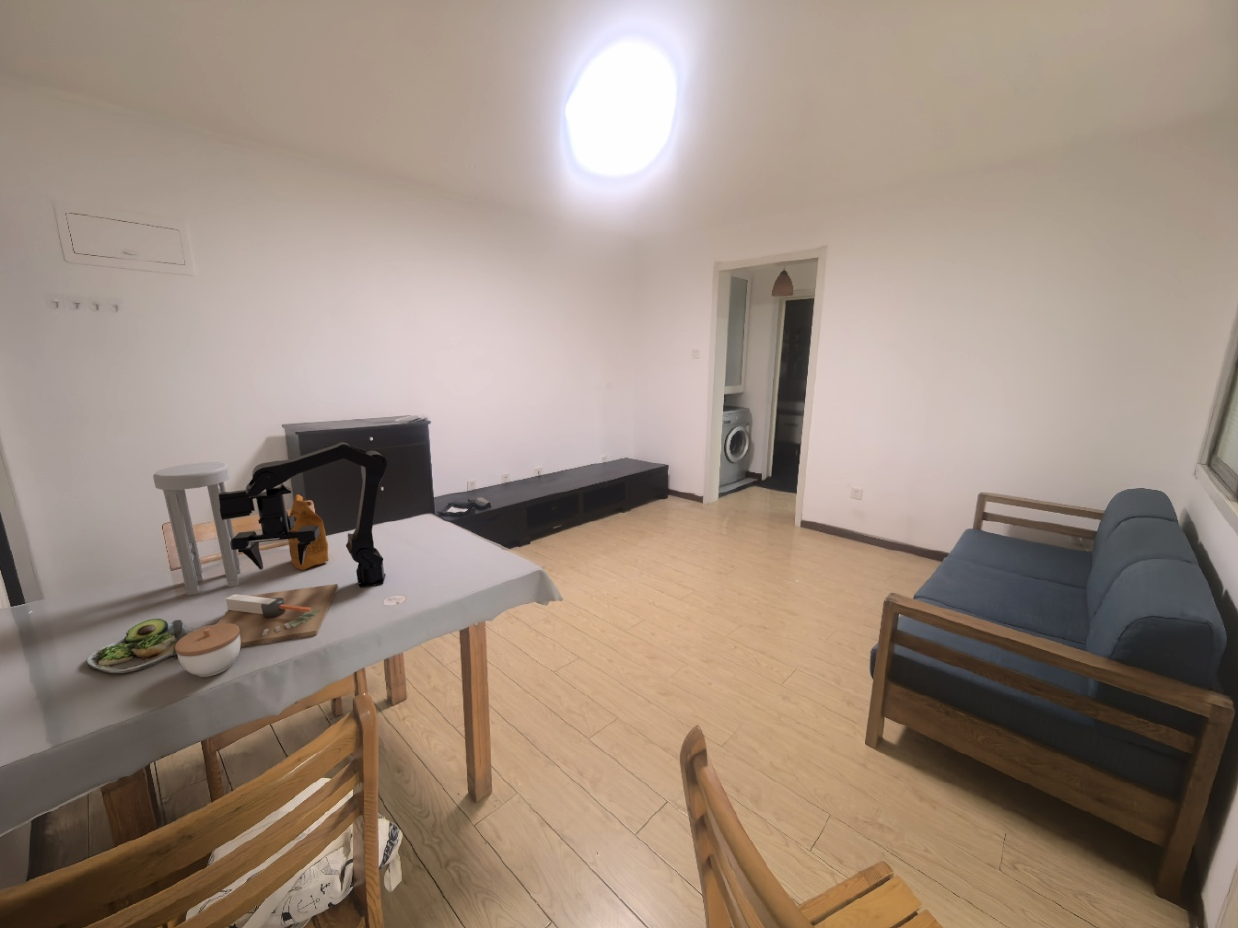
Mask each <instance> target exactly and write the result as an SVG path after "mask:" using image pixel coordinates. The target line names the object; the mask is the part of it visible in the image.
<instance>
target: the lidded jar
mask: <svg viewBox="0 0 1238 928" xmlns="http://www.w3.org/2000/svg"><path fill="white" fill-rule="evenodd" d="M241 648H242V647H241V638H240V629H239V627H238V626H237V625H235V624H231V623H222V624H217V623H216V624H211V625H207V626H204V627H201V628H199V629H195V630H193V632H191V633H189V634H187V635H186V636H184V637H183V638H181V639H180V640H179V641H178V642H177V643H176V645H175V651H176V653H177V655H176V656H177V659H178V661H179V663H180V665H181V666H182V668H183V669H184V670H185V671H186V672H188V673H189V674H191V675H195V676H197V677H199V678H208V677H212V676H216V675H219V674H221V673H223V672H225V671H227V670H228V669H229V668H230V667H231V666H232V665H233V663H234V662H235V661H236V659H237V658H238V656H239V654H240V651H241Z"/></svg>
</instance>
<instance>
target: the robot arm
mask: <svg viewBox="0 0 1238 928" xmlns="http://www.w3.org/2000/svg"><path fill="white" fill-rule="evenodd" d="M340 460H346V461H349V462H352V463H354V464H357V465H359V466H360V470H361V471H360V472H361V478H362V486H361V493H360V499H359V507H358V513H357V518H356V519H357V520H356V526H355V529H354V532H353V533H349V532H348V533H347V542H346V544H345V548H346V549H347V551H348V554H349V555H350V556H351V558H352V560H353V561H354V562H355V563H357V568H356V571H355V572H356V579H357V583H358V587H359V588H364V587H372V586H373V587H374V586H379V585H383V584H384V582H385V578H386V575H387V574H386V573H385V570H384V563H383V562H384V558H383V556H382V555H381V553H380V551H379V550H378V549H377V548H376V547H375V546H374V543H375V542H374V538H373V526H374V519H375V514H376V505H377V501H378V500H377V499H378V493H379V486H380V483H381V481H382V480H383V478H384V476H385V475H386V471H387V468H388V460H387V459H386V458H385V457H384V456H383V455H382V454H381V453H380V452H378V451H376V450H368V451H367V450H365V449H361V448H359V447H356V446H353V445H350V444H348V443H346V442H338V443H336V444H334V445H331V446H328V447H324V448H322V449H321V448H320V449H319V450H315V451H313V452H310V453H309V452H308V453H307V454H306V453H305V454H303V455H299V456H297V457H293V458H291V459H283V460H274V461H268V462H261V463H259V464H257V465H255V467H253V470H252V472H251V476H252V478H251V479H250V481H249V482H248V484H247V485H246V487H245V489H241V490H235V491H226V492H220V493H219V502H220V514H221V518H222V520H226V519H231V520H232V519H237V518H244V517H250V516H251V514H253V512H255V511H256V510H255V503H254V499H256V505H257V510H258V511H257V512H258V516H259V519H257V521H258V524H260V528H261V534H257V532H256V531H255V530H251V531H241V532H238V533H237V534H236V535H234V536H235V537H234V538H233V539H232V540H231V542H230V545H231V550H237V551H238V553H243V555H245V556H246V557H247V558H248V559H249V560H251V562H252V563H254V565H255V566H256V567H257V568H258V569H259V570H260V571H262V570H264V562H263V558H262V556H261V555H262V554H261V551H260V543H262V542H263V543H264V542H272V541H273V542H274V541H283V540H288V539H294V538H297V540H298V541H299V543H298V544H297V548H298V556H299V562H300V565H302V564H303V561H304V557H305V553H306V549H307V546H308V545H309V544H311V542H313V541H315V540H316V539H317V537H318V536H319V535H320V530H319V527H318V526H317V525H311V526H302V527H301V528H300V530H299V531H291V532H289V530H291V529H292V527H295V524H294V516H290V515H289V513H288V511H287V509H286V505H285V498H284V497H285V496H284V495H288V494H292V490H291V488H290V487H288V486H287V485H285V484H284V483H285V482H287V481H288V480H290V479H292V478H294V477H295V476H297V475H299V474H302V473H304V472H308V471H311V470H314V469H317V468H320V467H323V466H325V465H329V464H331V463H334V462H337V461H340Z"/></svg>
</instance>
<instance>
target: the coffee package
mask: <svg viewBox="0 0 1238 928" xmlns="http://www.w3.org/2000/svg"><path fill="white" fill-rule="evenodd" d="M311 506H312V502H311V501H307V500H304V497H303V496H301V495H300V494H299V493H298V494H296V495H295V496H294V501H293V503H292V506H291V509H290V513H289V516H294V524H295V527H292V529H291V530H289V532H291V531H299V530H300V528H301V527H302V526H311V525H317V526H318V527H319V530H320V535H319V536H318V537H317V539H316V540H315V541H313V542H311V544H309V545H308V546H307V549H306V553H305V557H304V561H303V564H302V565H300V562H299V556H298V548H297V544H298V543H299V541H298V540H297V538H294V539H287V540H288V547H289V554H290V561H291V562H292V564H293V566H294V568H296V569H299V570H301V571H303V570H306V569H309V568H312V567H314V566H318V565H321V564H324V563H326V562H329V561H330V560H329V555H328V554H329V543H328V540H327V535H326V530H325V526H324V521H323V520H322V518H321V517H320V516H319V515H318V514H317V513H315V512H314V511H313V510H312V509H311V508H310V507H311Z"/></svg>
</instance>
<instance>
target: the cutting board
mask: <svg viewBox="0 0 1238 928" xmlns="http://www.w3.org/2000/svg"><path fill="white" fill-rule="evenodd" d="M338 588H339V585H338V583H335V584H333V583H332V584H327V585H317V586H313V587H312V586H311V587H302V588H296V589H289V590H281V591H274V592H266V593H259V594H251V595H249V596H254V597H262V598H271V599H272V598H283V599H284V604H285V605H293V606H301V607H310V608H311V609H312V610H311V611H310V612H304V611H296V610H288V609H285V612H284V613H283V614H281V615H279V616H276V617H271V618H265V617H263V614H257V613H249V612H241V611H233V610H228V609H227V611H226V612H225V614H224V615H223V616H222V617H221V618H220V620H219V621H218V622H216V624H222V623H231V624H235V625H237V626H238V627H239V629H240V638H241V647H240V648H244V647H250V646H258V645H263V644H269V643H275V642H282V641H287V640H295V639H300V638H305V637H312V636H317V635H318V633H319V630H320V629H321V626H322V624H323V622H324V619H326V618H325V617H326V615H327V613H328V610H329V608H330V606H331V604H332V602H333V600H334V597H335V596H336V593H337V591H338Z"/></svg>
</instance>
